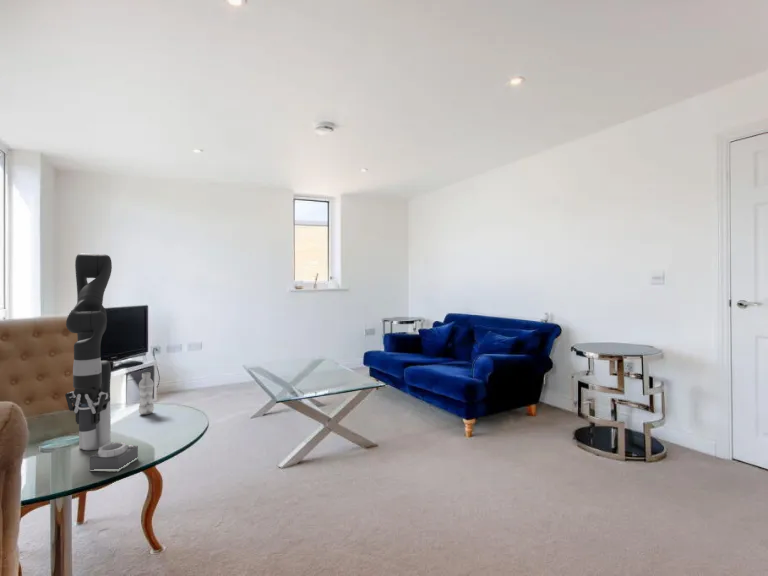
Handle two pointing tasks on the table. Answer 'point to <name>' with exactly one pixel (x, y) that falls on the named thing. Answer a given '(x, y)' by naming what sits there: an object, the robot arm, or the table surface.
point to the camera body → (113, 456)
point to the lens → (85, 418)
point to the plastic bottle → (146, 394)
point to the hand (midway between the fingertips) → (87, 423)
